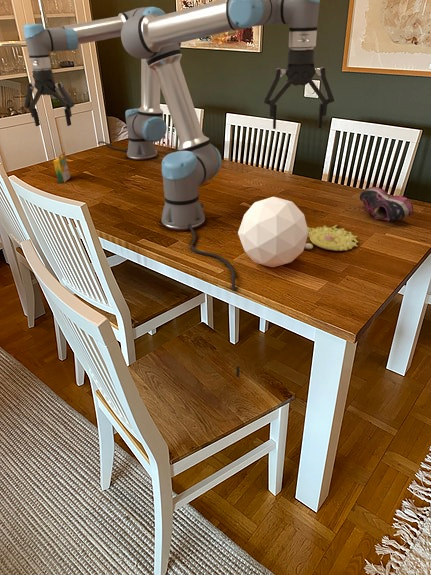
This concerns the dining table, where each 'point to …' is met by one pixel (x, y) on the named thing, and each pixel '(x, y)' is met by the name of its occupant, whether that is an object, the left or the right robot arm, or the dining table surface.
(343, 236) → the decorative object
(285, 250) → the sphere
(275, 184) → the dining table surface
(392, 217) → the athletic shoe
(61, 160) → the crayon box
